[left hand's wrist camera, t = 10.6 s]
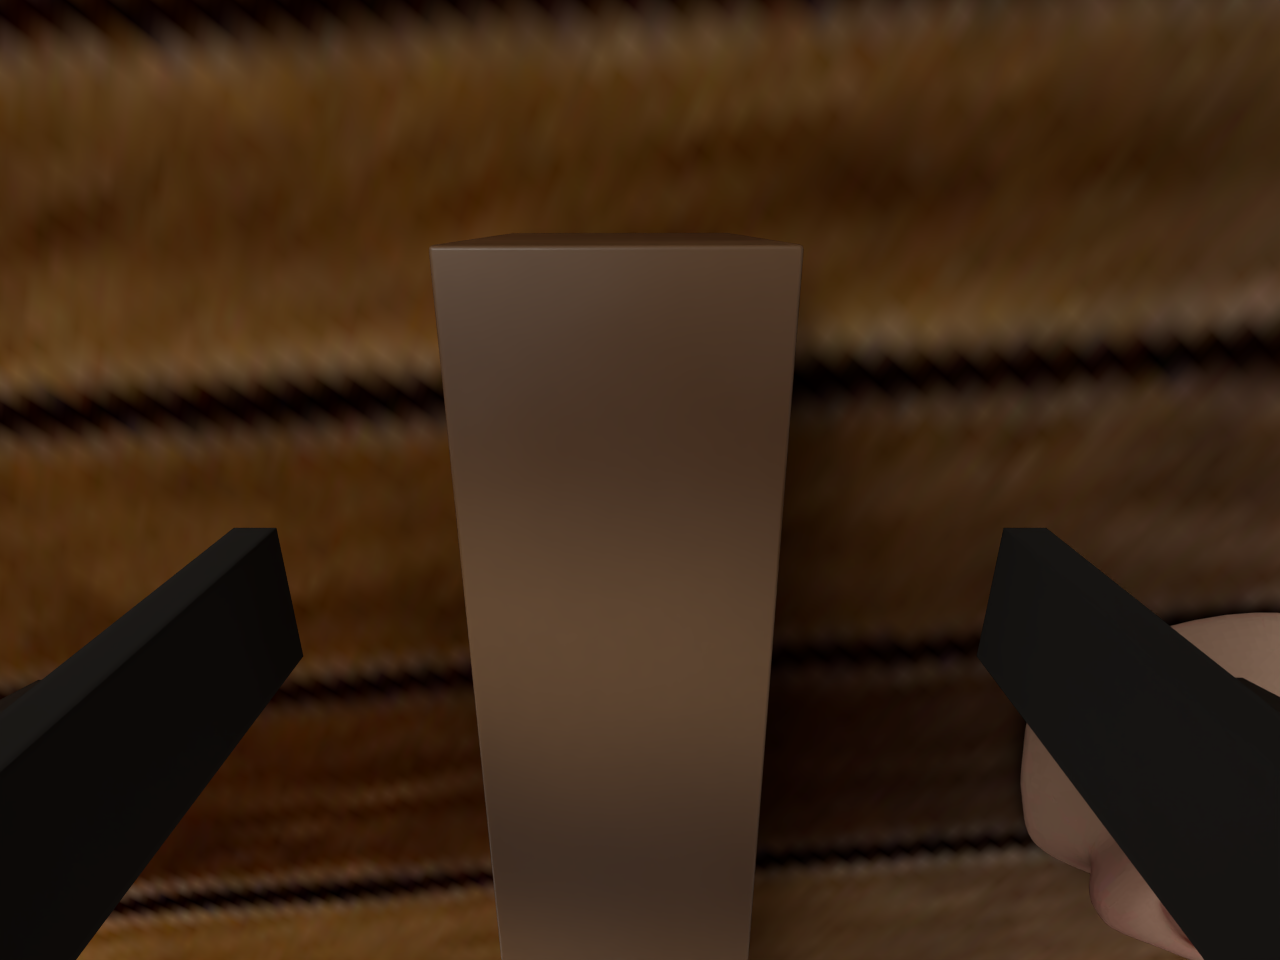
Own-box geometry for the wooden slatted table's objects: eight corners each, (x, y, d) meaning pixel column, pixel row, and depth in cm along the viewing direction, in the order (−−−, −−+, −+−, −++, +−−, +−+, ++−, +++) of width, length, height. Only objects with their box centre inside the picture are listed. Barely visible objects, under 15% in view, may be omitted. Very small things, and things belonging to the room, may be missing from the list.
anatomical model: (1027, 820, 17) (1519, 594, 15) (956, 713, 21) (1344, 520, 19) (1190, 1094, 21) (1595, 944, 19) (1106, 963, 25) (1439, 826, 23)
